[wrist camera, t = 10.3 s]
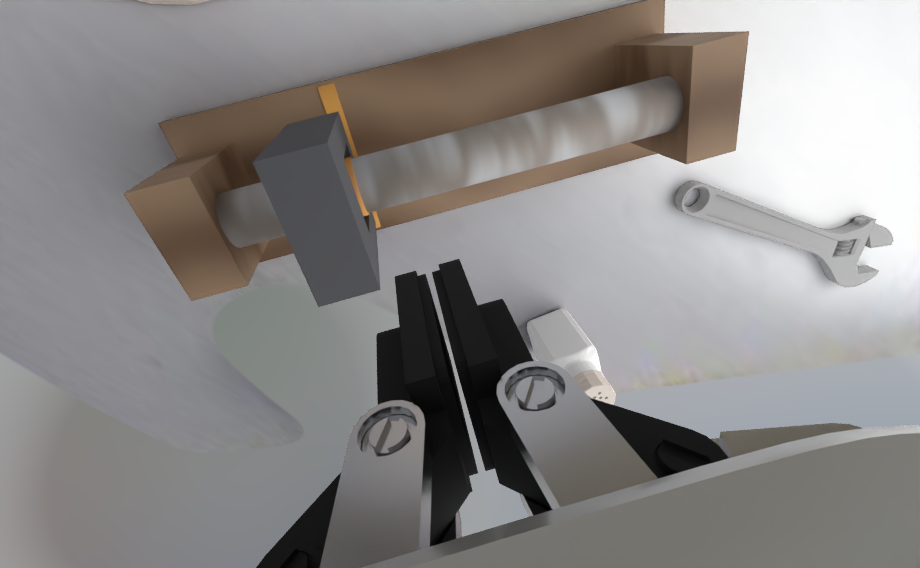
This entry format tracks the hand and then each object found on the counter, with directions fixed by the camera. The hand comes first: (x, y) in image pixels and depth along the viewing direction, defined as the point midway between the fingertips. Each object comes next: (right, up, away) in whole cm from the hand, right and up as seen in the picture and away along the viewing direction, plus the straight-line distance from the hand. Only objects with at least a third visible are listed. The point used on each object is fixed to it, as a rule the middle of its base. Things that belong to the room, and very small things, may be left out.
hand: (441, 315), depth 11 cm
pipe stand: (-1, +11, +19) cm, 22 cm away
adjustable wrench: (+30, +7, +29) cm, 42 cm away
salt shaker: (+9, -3, +29) cm, 30 cm away
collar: (-7, +7, +15) cm, 19 cm away
